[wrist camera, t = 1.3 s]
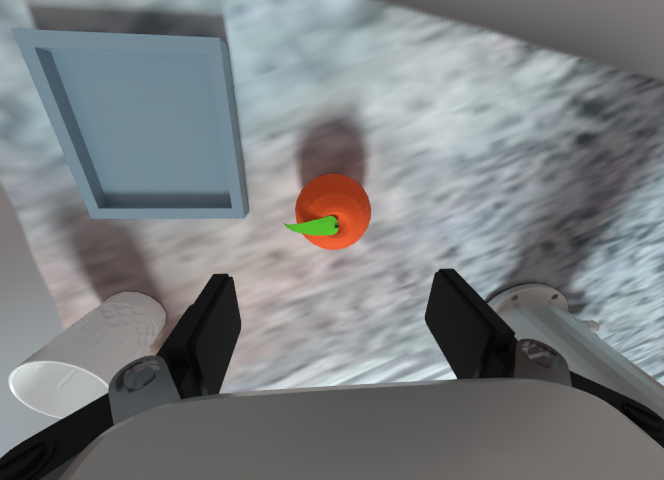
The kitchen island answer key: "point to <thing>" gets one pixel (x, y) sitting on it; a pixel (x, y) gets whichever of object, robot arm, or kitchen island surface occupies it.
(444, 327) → the robot arm
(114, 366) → the white cup
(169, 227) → the kitchen island surface
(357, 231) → the clementine
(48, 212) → the kitchen island surface
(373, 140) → the kitchen island surface
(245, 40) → the kitchen island surface
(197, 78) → the dish
